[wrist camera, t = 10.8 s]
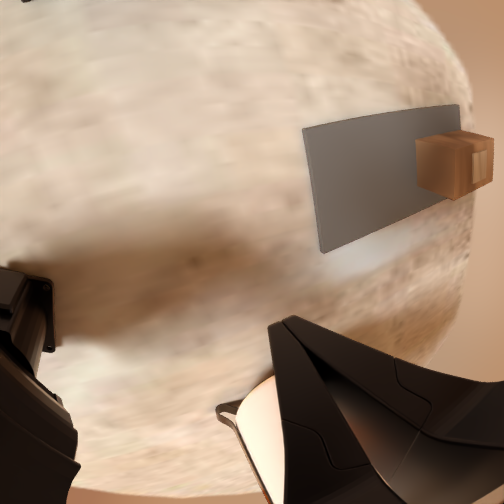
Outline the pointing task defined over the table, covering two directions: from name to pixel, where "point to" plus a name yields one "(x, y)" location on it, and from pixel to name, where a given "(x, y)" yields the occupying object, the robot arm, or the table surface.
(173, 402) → the table surface
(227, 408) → the coffee press
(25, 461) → the robot arm
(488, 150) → the brown rectangular block
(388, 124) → the mat
